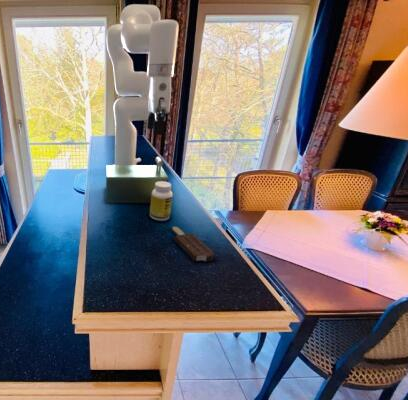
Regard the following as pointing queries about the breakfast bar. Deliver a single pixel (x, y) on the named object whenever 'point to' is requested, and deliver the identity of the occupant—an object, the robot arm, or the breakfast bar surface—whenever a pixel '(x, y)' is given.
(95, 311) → the breakfast bar surface
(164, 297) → the breakfast bar surface
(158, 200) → the pill bottle
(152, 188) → the bin
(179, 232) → the ice cream bar
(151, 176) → the bin lid
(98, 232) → the breakfast bar surface
